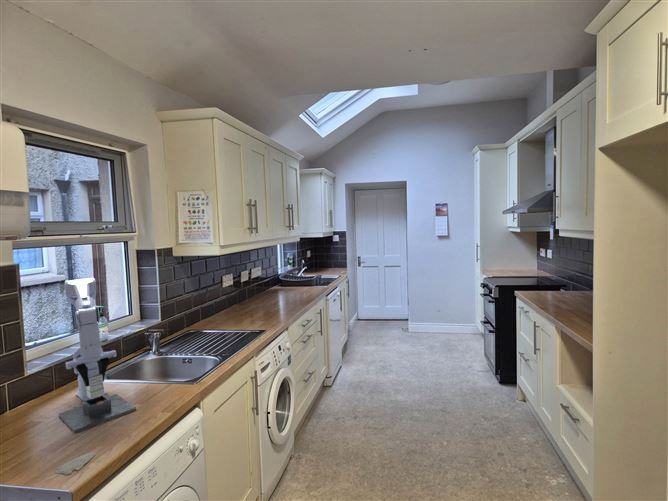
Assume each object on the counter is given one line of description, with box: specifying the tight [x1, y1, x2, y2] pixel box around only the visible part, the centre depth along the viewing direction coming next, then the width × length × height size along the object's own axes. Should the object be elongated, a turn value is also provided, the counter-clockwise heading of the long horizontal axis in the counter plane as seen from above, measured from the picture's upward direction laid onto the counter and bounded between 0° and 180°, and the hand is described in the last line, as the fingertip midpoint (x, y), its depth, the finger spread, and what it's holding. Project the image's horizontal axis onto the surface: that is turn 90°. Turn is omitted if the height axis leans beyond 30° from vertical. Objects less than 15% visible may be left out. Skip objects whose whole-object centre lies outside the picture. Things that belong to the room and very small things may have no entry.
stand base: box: [58, 394, 137, 434], centre depth 133 cm, size 18×18×5 cm
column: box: [86, 372, 105, 399], centre depth 132 cm, size 4×4×7 cm
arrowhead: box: [54, 451, 97, 476], centre depth 105 cm, size 7×2×10 cm
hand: (94, 383), depth 132 cm, fingers closed on column, 4 cm apart
